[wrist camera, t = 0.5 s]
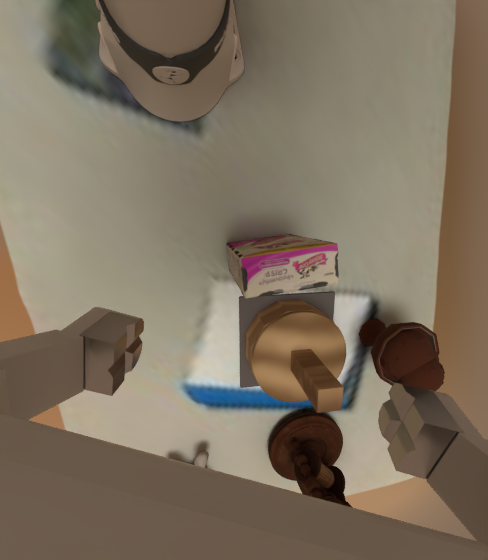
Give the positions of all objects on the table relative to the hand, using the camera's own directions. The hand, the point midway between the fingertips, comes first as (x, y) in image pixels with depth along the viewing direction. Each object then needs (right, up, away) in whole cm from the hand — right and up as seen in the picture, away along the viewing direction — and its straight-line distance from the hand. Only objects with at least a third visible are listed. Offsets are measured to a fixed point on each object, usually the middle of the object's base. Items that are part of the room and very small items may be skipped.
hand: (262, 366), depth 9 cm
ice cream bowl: (+24, -7, +45) cm, 51 cm away
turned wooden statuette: (+11, -29, +48) cm, 57 cm away
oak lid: (+7, -8, +41) cm, 43 cm away
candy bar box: (+2, +7, +38) cm, 38 cm away
